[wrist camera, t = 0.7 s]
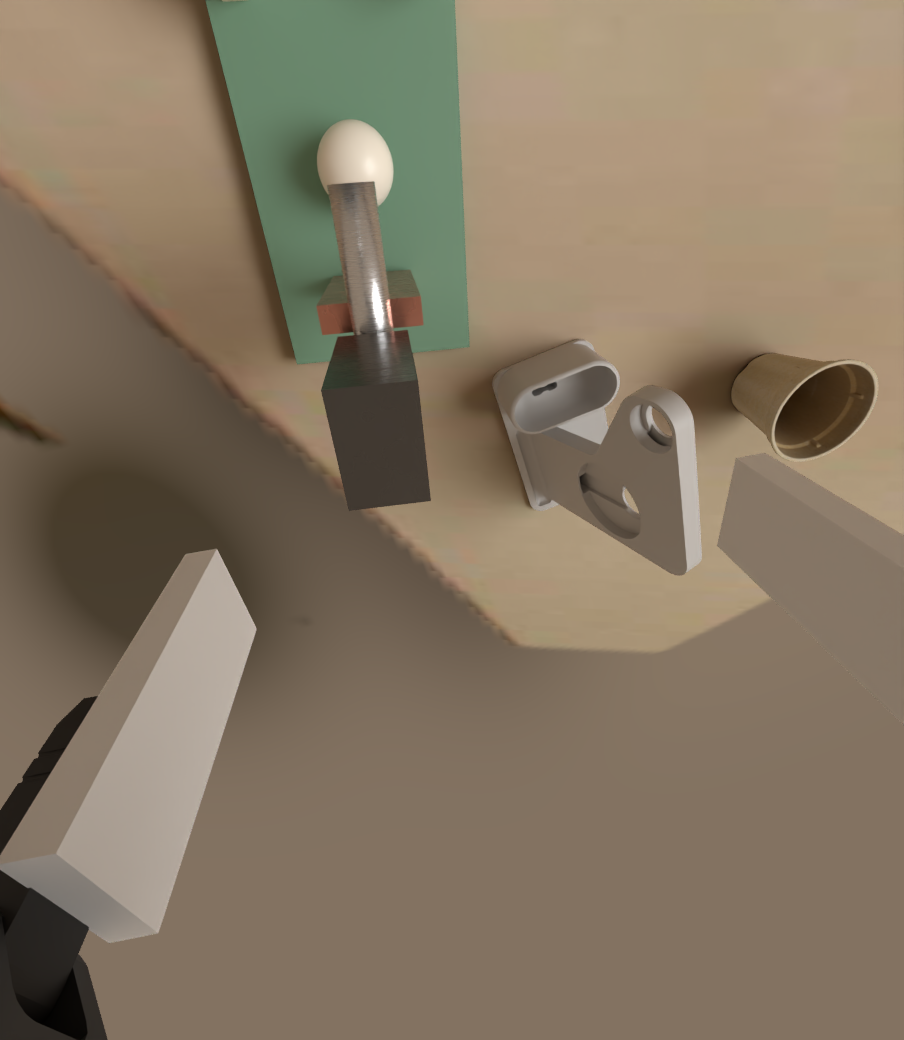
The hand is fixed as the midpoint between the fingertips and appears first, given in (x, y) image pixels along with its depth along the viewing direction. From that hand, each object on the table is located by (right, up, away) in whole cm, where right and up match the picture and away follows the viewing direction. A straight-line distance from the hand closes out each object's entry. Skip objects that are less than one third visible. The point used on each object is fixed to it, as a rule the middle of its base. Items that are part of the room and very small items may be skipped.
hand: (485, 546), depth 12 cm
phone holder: (+10, +10, +37) cm, 40 cm away
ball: (-7, +24, +19) cm, 32 cm away
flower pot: (+31, +15, +37) cm, 50 cm away
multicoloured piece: (-7, +19, +25) cm, 32 cm away
